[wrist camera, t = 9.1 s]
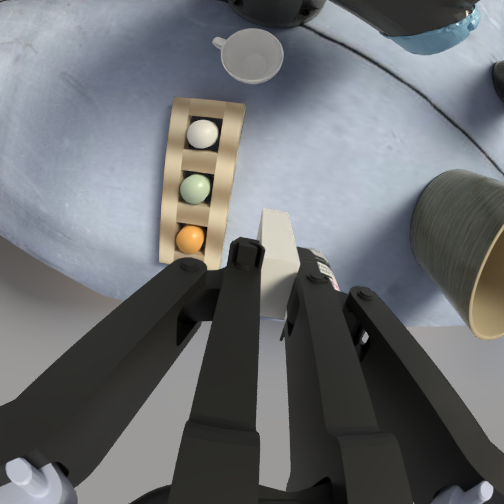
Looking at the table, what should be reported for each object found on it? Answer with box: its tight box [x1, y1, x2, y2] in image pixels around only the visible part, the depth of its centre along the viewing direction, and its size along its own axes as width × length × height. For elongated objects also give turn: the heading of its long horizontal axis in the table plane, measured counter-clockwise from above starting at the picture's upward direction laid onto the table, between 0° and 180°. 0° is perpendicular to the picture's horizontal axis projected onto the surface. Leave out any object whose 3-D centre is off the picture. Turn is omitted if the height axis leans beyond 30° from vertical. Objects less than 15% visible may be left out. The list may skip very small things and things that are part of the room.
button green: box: [180, 172, 212, 204], centre depth 40 cm, size 4×4×4 cm
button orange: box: [176, 223, 206, 254], centre depth 43 cm, size 4×4×4 cm
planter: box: [410, 169, 504, 340], centre depth 33 cm, size 22×22×20 cm
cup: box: [212, 28, 284, 84], centre depth 31 cm, size 8×10×7 cm
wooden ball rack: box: [159, 97, 246, 270], centre depth 41 cm, size 26×10×3 cm, turn 170°
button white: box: [187, 120, 220, 148], centre depth 37 cm, size 4×4×4 cm
